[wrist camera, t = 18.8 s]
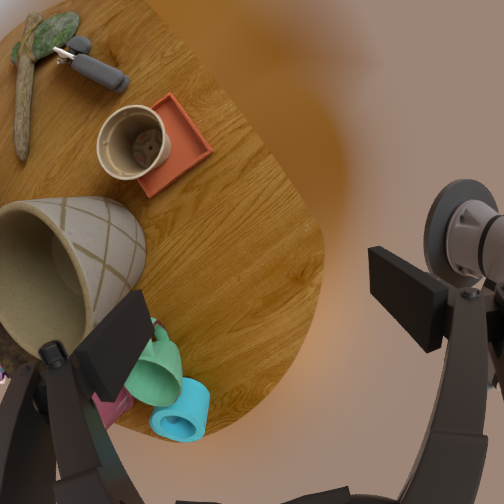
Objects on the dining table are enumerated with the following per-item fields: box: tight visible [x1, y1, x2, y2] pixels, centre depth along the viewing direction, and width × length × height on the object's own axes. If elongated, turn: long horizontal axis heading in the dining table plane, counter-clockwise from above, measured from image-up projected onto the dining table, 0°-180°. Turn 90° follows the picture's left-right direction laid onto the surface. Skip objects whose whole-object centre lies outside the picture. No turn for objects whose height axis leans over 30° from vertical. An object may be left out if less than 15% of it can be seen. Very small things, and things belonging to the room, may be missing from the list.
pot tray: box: [136, 92, 214, 198], centre depth 37 cm, size 11×11×2 cm
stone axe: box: [11, 11, 79, 161], centre depth 31 cm, size 26×5×30 cm
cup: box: [149, 377, 210, 442], centre depth 45 cm, size 12×10×9 cm
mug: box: [124, 317, 183, 407], centre depth 41 cm, size 15×10×10 cm
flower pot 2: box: [92, 386, 135, 430], centre depth 43 cm, size 14×14×13 cm
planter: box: [0, 196, 146, 359], centre depth 32 cm, size 19×19×20 cm
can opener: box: [53, 36, 129, 93], centre depth 31 cm, size 19×6×5 cm, turn 51°
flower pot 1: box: [97, 105, 171, 180], centre depth 33 cm, size 9×9×9 cm
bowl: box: [0, 322, 46, 379], centre depth 42 cm, size 22×22×10 cm
